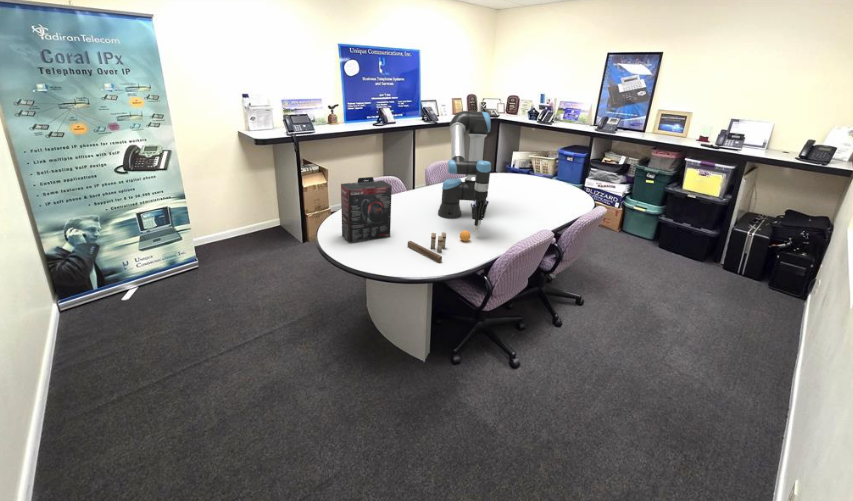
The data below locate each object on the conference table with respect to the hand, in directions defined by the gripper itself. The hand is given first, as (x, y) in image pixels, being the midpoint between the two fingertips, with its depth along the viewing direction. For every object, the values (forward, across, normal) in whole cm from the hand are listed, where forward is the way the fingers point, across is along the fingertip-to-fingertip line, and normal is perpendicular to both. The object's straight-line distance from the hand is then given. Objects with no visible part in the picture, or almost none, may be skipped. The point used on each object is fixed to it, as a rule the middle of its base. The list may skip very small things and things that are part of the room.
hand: (476, 230), depth 234 cm
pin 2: (+5, -31, -2) cm, 32 cm away
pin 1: (+4, -31, +3) cm, 32 cm away
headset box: (+5, -50, +36) cm, 62 cm away
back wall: (+5, -40, 0) cm, 40 cm away
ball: (+1, -9, 0) cm, 9 cm away
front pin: (+4, -26, 0) cm, 27 cm away
